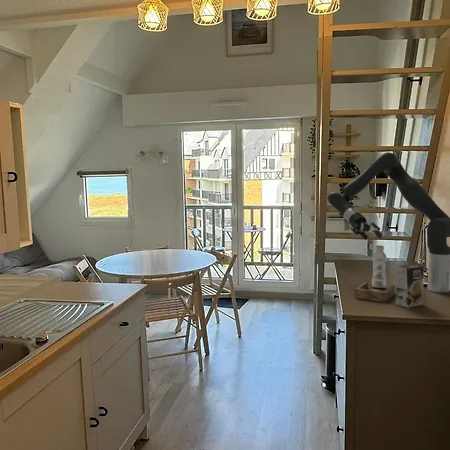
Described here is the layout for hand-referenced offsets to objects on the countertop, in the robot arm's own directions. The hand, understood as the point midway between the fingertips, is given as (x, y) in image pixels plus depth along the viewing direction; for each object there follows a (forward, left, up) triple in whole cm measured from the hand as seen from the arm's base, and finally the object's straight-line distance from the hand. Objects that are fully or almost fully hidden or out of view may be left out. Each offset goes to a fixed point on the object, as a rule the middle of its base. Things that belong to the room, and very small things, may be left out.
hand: (374, 237), depth 206 cm
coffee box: (-21, +22, -24) cm, 39 cm away
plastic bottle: (-3, +2, -24) cm, 24 cm away
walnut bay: (-6, +17, -23) cm, 30 cm away
